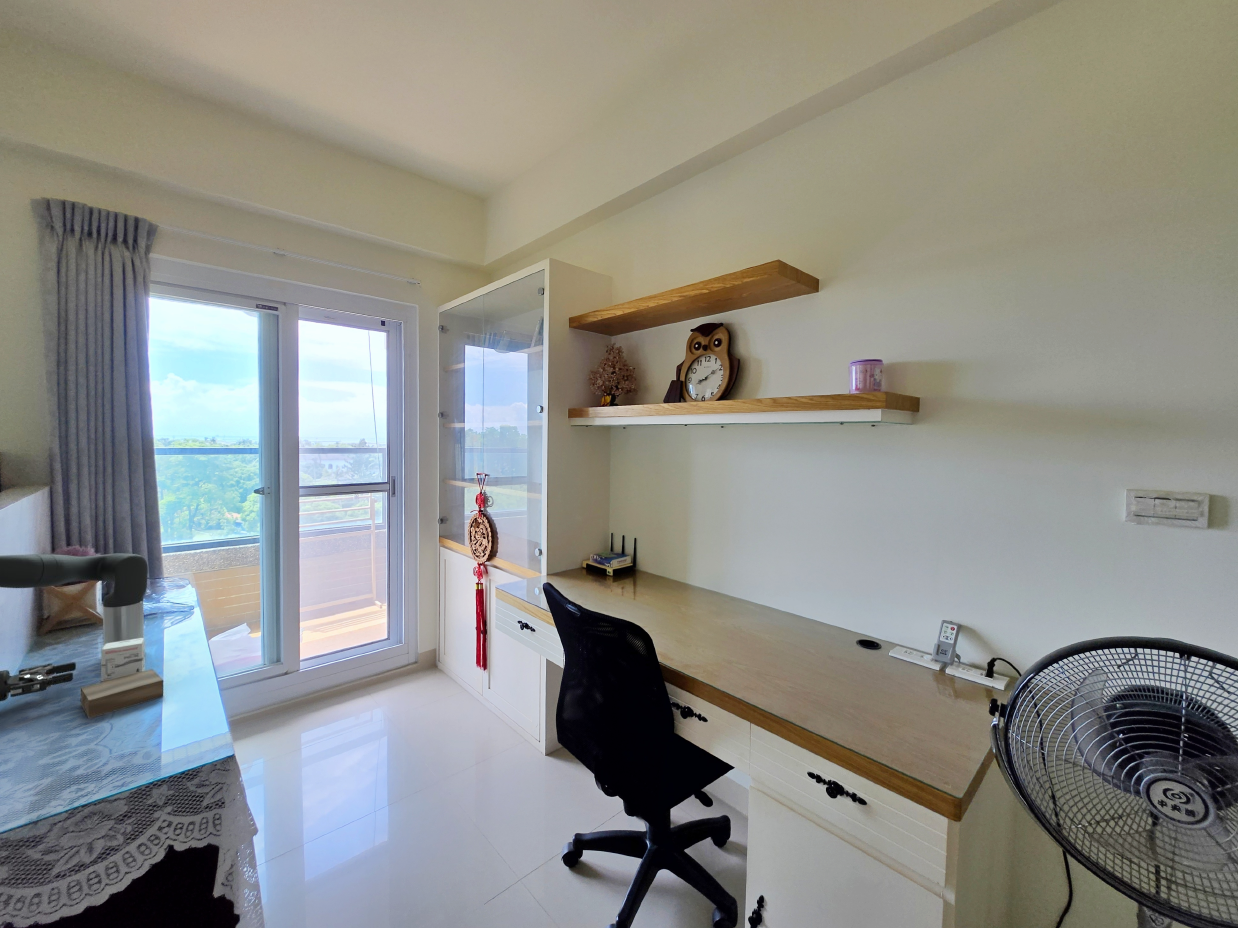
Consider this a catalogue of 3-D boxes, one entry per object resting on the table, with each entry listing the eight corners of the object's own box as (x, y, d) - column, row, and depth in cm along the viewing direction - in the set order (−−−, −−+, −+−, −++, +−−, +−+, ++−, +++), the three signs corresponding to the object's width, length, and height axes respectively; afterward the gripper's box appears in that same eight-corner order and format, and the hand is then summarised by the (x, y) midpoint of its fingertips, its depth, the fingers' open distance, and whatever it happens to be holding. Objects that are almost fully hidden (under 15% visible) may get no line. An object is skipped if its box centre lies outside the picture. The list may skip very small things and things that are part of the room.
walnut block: (80, 705, 130) (80, 687, 130) (152, 685, 142) (152, 668, 141) (89, 719, 124) (89, 700, 124) (163, 697, 135) (163, 679, 135)
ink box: (99, 691, 137) (99, 649, 137) (103, 684, 141) (103, 643, 141) (142, 682, 143) (142, 642, 142) (145, 676, 146) (145, 637, 146)
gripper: (-29, 685, 118) (72, 665, 130) (-16, 666, 129) (76, 649, 140) (-28, 716, 119) (72, 693, 130) (-16, 694, 129) (76, 675, 140)
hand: (74, 670), depth 135 cm, fingers open, 8 cm apart
